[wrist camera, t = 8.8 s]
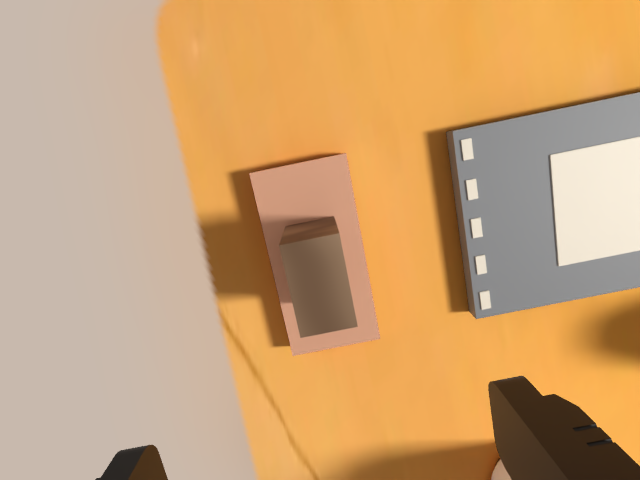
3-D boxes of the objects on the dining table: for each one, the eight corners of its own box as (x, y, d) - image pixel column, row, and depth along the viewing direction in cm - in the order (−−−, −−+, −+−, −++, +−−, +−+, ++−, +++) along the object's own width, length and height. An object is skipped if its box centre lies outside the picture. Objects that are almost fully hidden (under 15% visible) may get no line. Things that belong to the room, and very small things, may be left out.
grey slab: (708, 77, 25) (729, 73, 24) (706, 265, 27) (726, 271, 26) (445, 131, 25) (453, 131, 24) (469, 311, 28) (476, 319, 27)
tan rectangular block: (344, 153, 25) (354, 154, 19) (377, 330, 28) (395, 381, 22) (252, 172, 25) (233, 180, 19) (293, 347, 28) (288, 402, 22)
